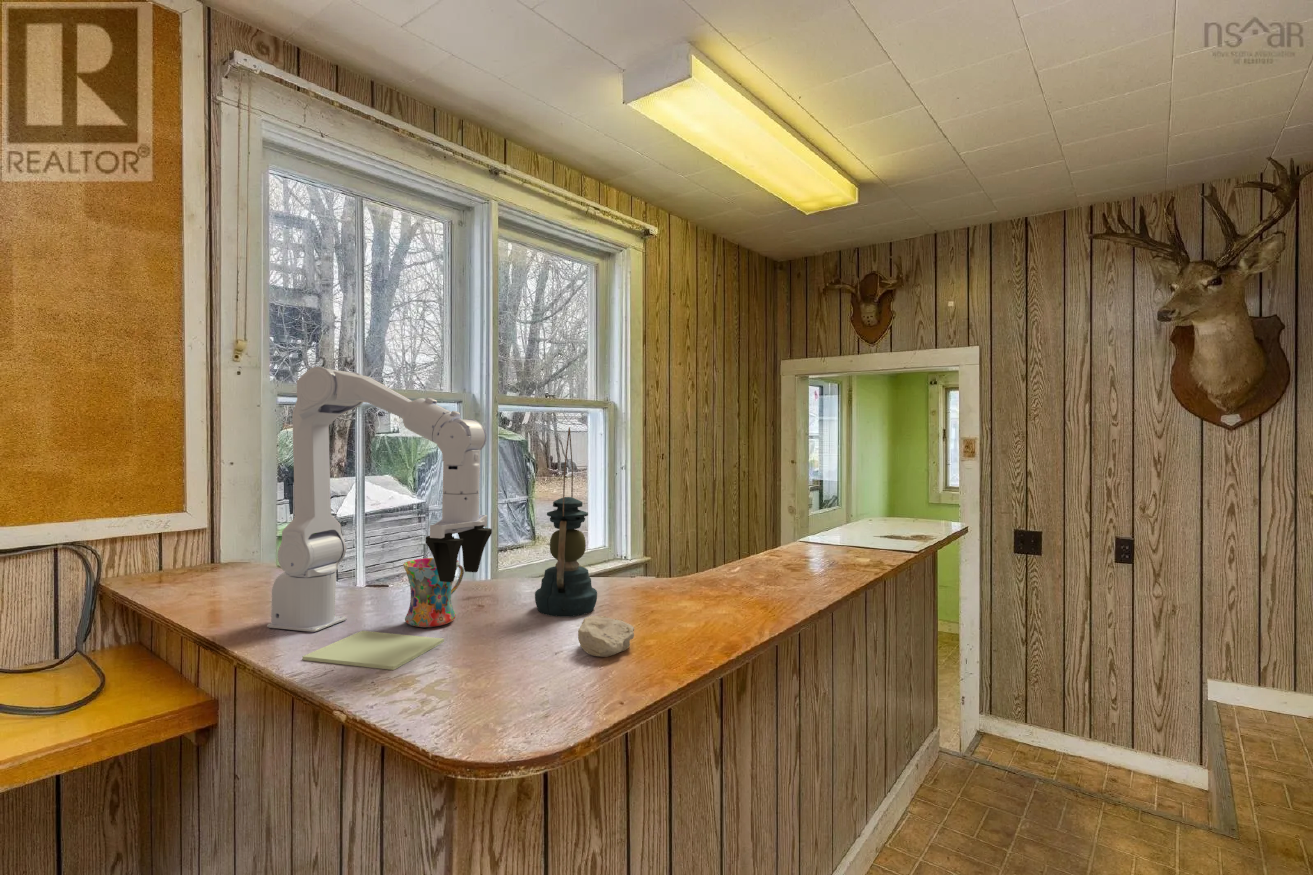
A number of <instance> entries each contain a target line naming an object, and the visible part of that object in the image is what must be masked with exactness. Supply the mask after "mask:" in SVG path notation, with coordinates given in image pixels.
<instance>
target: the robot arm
mask: <svg viewBox="0 0 1313 875" xmlns="http://www.w3.org/2000/svg"><path fill="white" fill-rule="evenodd" d="M364 403H366V404H367V403H368V404H370V405H372V406H375V407H377V408H379V409H381V410H384V411H386V412H388V413H390V414H392V415H395V416H397V417H399V418H402V422H403V426H404V427H405V428H406V430H408V431H410V432H413V433H414V434H416V435H417V436H421V437H422V438H424V439H426V440H428V441H430V442H432V443H434V444H436V445H437V447H438V449H439V451H441V454H442V459H441V460H442V462H443V463H442V467H443V468H442V502H441V503H442V506H441V508H442V509H441V510H442V512H441V520H439V521H437V522H436V523H434V524H431V525H429V535H427V536H426V537H425V544H426V546H427V547H428V549H429V551H430V552H431V555H432V558H434V560H435V563H436V567H437V571H438V576H439V579H440V581H441V582H452V583H453V582H454V581H455V578H456V574H457V570H456V564H457V560H458V558H459V553H460V550H462V563H463V569H464V573H478V572H479V569H480V568H479V567H480V564H481V561H482V557H483V553H484V550H485V547H486V545H487V543H488V541H489V539H490V537H491V536H492V532H493V531H492V530H493V529H492V528H489V527H488V514H480V513H479V512H480V475H481V474H480V473H481V472H480V470H481V466H480V465H481V450H483V448H484V447H485V445H486V443H487V439H488V436H487V431H486V429H485V427H484V426H483V425H482V423H480V422H479V421H478V420H476V419H474V418H466V419H464V418H463V419H462V417H461V413H460V412H458V411H456V410H452V411H450V410H448V409H446V408H444V407H442V406H440V405H438V404H437V403H438V400H436V399H434V398H433V397H426V398H423V397H421V398H416V399H414V400H412V399H409V398H408V397H406V396H404V395H403V394H401V393H399V392H397V391H395V390H393V389H391V388H389V387H388V386H386V385H385V384H383V383H381V382H379V381H377V380H376V379H374V378H373V377H370V376H367V375H362V374H361V373H359V372H356V371H344V370H338V369H332V368H326V367H323V366H313V367H311V368H308V370H306V371H305V372H304V373H303V375H301V376H300V377H299V378H298V379H297V380H296V402H295V405H294V409H293V411H292V448H293V449H292V450H293V453H292V454H293V455H292V456H293V457H292V458H293V459H292V460H293V486H294V487H293V489H294V490H293V492H294V494H293V497H294V499H293V500H294V518H293V519H292V520H291V521H290V522H289V523H288V524H287V525H286V526H285V527H284V528H283V529H282V531H281V542H280V544H279V548H278V550H277V562H278V565H279V566H280V569H282V570H283V571H284V572H282V573H280V574H279V575H278V576H277V577H276V578H275V580H274V582H273V584H272V588H271V612H270V613H271V615H270V617H271V622H270V623H268V624H267V625H266V626H267V628H270V629H281V630H291V631H299V632H309V633H310V632H312V633H315V632H317V631H321V630H323V629H326V628H328V627H330V626H333V625H336V624H338V623H342V622H343V621H346V620H347V619H348V618H347V616H342V615H336V584H337V582H336V579H337V576H336V575H337V570H339V564H340V563H341V562H342V561H343V560H344V558H345V556H346V554H347V544H346V541H345V539H344V536H343V534H342V525H341V523H340V522H339V521H338V520H337V519H336V518H335V517H334V516H333V515H332V508H331V507H332V505H331V503H332V502H331V466H330V465H331V464H330V463H331V462H330V430H329V429H330V428H329V427H330V425H331V424H332V423H333V422H334V421H335V420H337V418H339V417H340V416H341V415H343V414H345V413H348V412H350V411H352V410H354V409H355V408H359V407H360V406H361V405H362V404H364ZM486 527H487V528H486ZM454 534H457V536H458V537H457V538H456V537H455V536H453V535H454Z"/></svg>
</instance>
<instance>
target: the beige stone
mask: <svg viewBox="0 0 1313 875" xmlns="http://www.w3.org/2000/svg"><path fill="white" fill-rule="evenodd" d="M634 630H635V626H633V625H632V624H630V623H628V622H625V621H623V620H622V619H621V620H619V619H617V618H615V619H614V618H611V617H608V616H601V615H589V616H586V617H584V619H583V621H582V623H581V625H580V628H578V630H577V637H578V639H577V640H578V643H579V645H580V647H581V648H582V649H583V651H585V653H587V654H588V655H590V656H594V657H600V658H601V657H602V658H607V657H610V656H614V655H616V654H618V653H620V652H621V653H622V652H624V651H626V650H627V649H628V648H629V647H630V646H631V643H630V641H631V640H632V639H634V637H635V632H634Z"/></svg>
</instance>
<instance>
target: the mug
mask: <svg viewBox="0 0 1313 875" xmlns="http://www.w3.org/2000/svg"><path fill="white" fill-rule="evenodd" d="M458 568H459V570H460V572H459V576H458V579H457V581H456V583H455V585H454V586H453V582H441V581H440V579H439V576H438V571H437V567H436V563H435V560H434V557H426V558H416V559H411V560H407V561H405V562H404V563H403V569H404V571H405V573H406V575H407V579H408V583H409V588H410V600H409V602H410V603H409V608H408V610H407V613H406V615H405V617H404V621H405V623H406V624H408V625H409V626H412V627H419V628H434V627H440V626H444V625H447V624H449V623H451V622H453V621H454V620H455V619H456V618H457V614H456V612H455V611H454V607H453V603H452V595H453V594H454V593H455V592H456V591H457V589H458V588H459V587H460V585H461V582H462V580H463V579H464V578H463V577H464V573H465V570H464V566H462V565H461V564H460V561H459V560H458V559H457V564H456V571H457V569H458Z"/></svg>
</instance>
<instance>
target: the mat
mask: <svg viewBox="0 0 1313 875" xmlns="http://www.w3.org/2000/svg"><path fill="white" fill-rule="evenodd" d="M444 642H445V638H441V637H431V636H420V635H411V634H410V635H409V634H399V633H391V632H390V633H389V632H378V631H368V630H360V631H358V632H355V633H354V634H351V635H349V636H347V637H344V638H342V639H340V640H337V641H335V642H333V643H330V644H328V645H326V646H323V647H321V648H318V649H316V650H313V651H312V652H310V653H307V654H305V655H303V656H302V660H303V661H310V662H318V663H327V664H328V663H329V664H336V665H346V666H352V667H353V666H355V667H363V668H364V667H365V668H373V669H381V670H382V669H383V670H388V671H389V670H391V671H394V670H396V669H398V668H400V667H401V666H403V665H405V664H407V663H409V662H411V661H413V659H416V658H418V657H420V656H421V655H423V654H425V653H427V652H429V651H430V650H432V649H435V647H437V646H439V645H440V644H444Z"/></svg>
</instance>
